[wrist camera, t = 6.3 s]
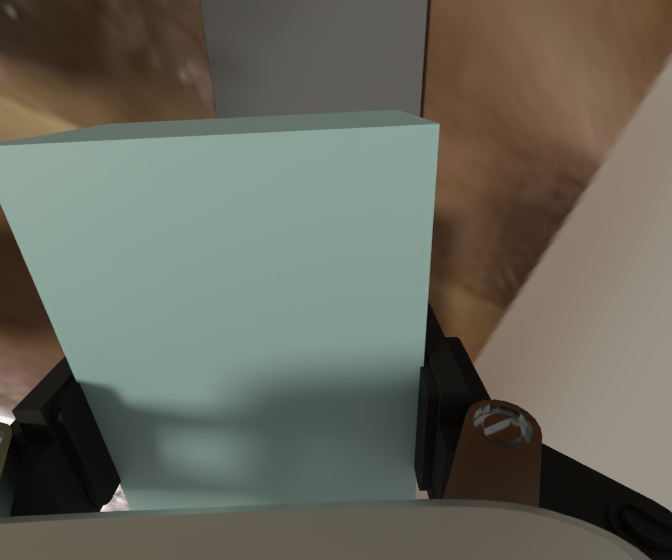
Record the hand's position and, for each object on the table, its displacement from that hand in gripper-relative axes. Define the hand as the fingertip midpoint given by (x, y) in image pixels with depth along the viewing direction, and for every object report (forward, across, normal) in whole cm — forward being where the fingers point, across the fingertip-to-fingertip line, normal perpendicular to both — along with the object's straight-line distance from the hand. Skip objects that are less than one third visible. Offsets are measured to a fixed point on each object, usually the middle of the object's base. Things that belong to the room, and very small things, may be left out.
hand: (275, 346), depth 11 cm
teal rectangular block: (+1, 0, 0) cm, 1 cm away
